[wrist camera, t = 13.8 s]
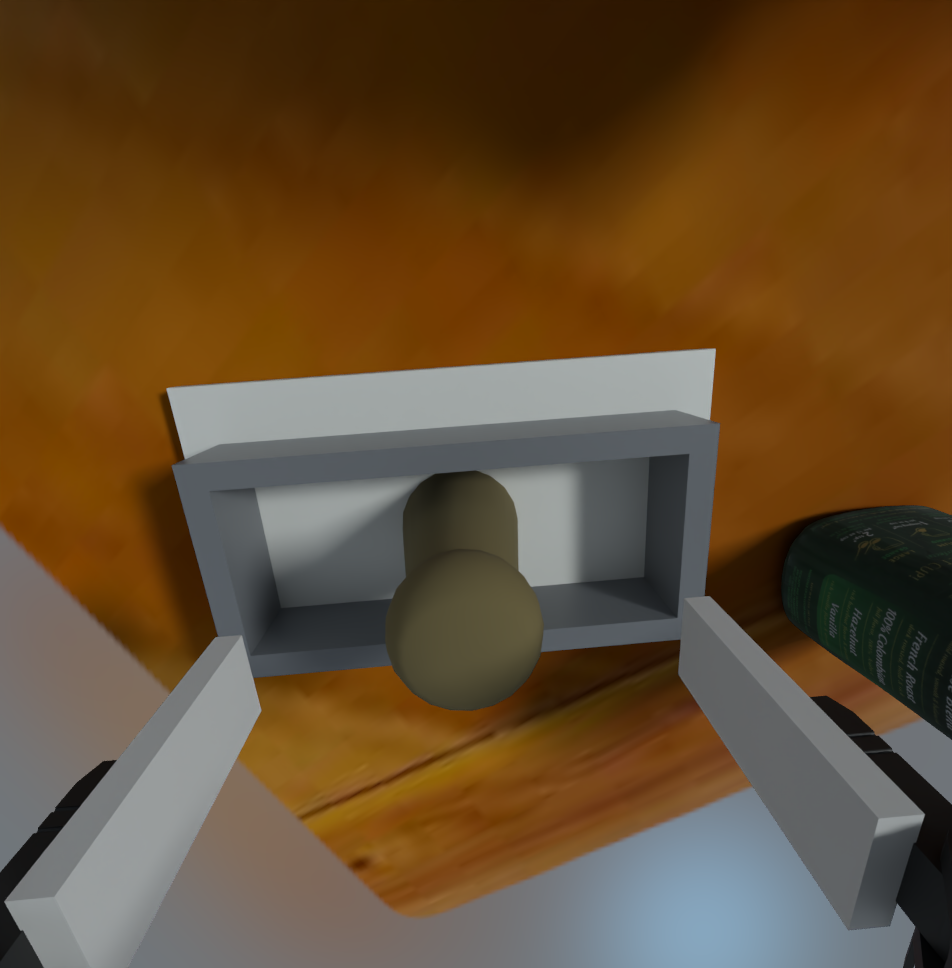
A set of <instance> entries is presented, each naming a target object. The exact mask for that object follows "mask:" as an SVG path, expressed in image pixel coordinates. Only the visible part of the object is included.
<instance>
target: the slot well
mask: <svg viewBox="0 0 952 968" xmlns="http://www.w3.org/2000/svg"><path fill="white" fill-rule="evenodd" d="M715 352H716V349H691V350H678V351H664V352H650V353H636V354H622V355H608V356H594V357H580V358H566V359H552V360H538V361H524V362H511V363H497V364H483V365H469V366H455V367H441V368H427V369H413V370H399V371H385V372H371V373H357V374H344V375H330V376H316V377H302V378H288V379H274V380H260V381H246V382H232V383H218V384H204V385H190V386H178V387H171V388H166V389H167V392H168V396H169V400H170V404H171V408H172V412H173V415H174V419H175V423H176V427H177V431H178V434H179V438H180V442H181V446H182V450H183V454H184V457H185V460H183V461H180V462H178V463H176V464H174V465H172V469H173V472H174V476H175V480H176V483H177V487H178V491H179V494H180V498H181V502H182V505H183V509H184V513H185V516H186V520H187V524H188V527H189V531H190V535H191V538H192V542H193V546H194V549H195V553H196V557H197V561H198V564H199V568H200V572H201V575H202V579H203V583H204V586H205V590H206V594H207V597H208V601H209V605H210V608H211V612H212V616H213V619H214V623H215V627H216V630H217V634H218V637H224V636H236V635H242V638H243V642H244V646H245V650H246V653H247V657H248V661H249V665H250V669H251V673H252V676H253V678H256V677H267V676H279V675H290V674H301V673H312V672H323V671H334V670H345V669H357V668H368V667H379V666H390V665H392V664H391V661H390V658H389V655H388V653H387V649H386V643H385V622H386V615H387V612H388V608H389V606H390V603H391V601H392V598H393V596H394V593H395V591H396V588H397V587H398V586H399V585H400V584H401V583H402V581H403V580H404V579H405V578H406V572H405V558H404V543H403V511H404V509H405V506H406V504H407V501H408V498H409V496H410V495H411V494H412V492H413V491H414V490H415V489H416V488H417V487H418V485H419V484H420V483H421V482H423V481H424V480H426V479H427V478H429V477H431V476H432V475H434V474H437V473H450V472H462V471H475V470H476V471H479V472H481V473H484V474H487V475H489V476H491V477H492V478H494V479H495V480H496V481H497V482H499V483H500V484H501V485H502V486H504V487H505V489H506V490H507V492H508V494H509V495H510V497H511V498H512V500H513V501H514V505H515V509H516V513H517V518H518V567H519V572H520V573H521V574H522V575H523V576H524V577H525V579H526V580H527V582H528V583H529V585H530V586H531V588H532V589H533V591H534V592H535V594H536V596H537V599H538V602H539V605H540V609H541V614H542V618H543V622H544V631H543V640H542V648H541V652H546V651H557V650H568V649H579V648H591V647H602V646H613V645H624V644H635V643H646V642H657V641H669V640H680V639H681V633H682V620H683V608H684V598H692V597H704V595H705V584H706V573H707V562H708V551H709V540H710V528H711V517H712V506H713V495H714V484H715V473H716V462H717V451H718V440H719V429H720V423H717V422H714V421H711V420H710V412H711V400H712V388H713V376H714V364H715Z"/></svg>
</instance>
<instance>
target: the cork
mask: <svg viewBox="0 0 952 968" xmlns="http://www.w3.org/2000/svg"><path fill="white" fill-rule="evenodd" d="M403 543H404V558H405V572H406V578H405V579H404V580H403V581H402V583H401V584H400V585H399V586H398V587H397V588H396V591H395V593H394V596H393V598H392V601H391V603H390V606H389V608H388V612H387V615H386V622H385V643H386V649H387V653H388V655H389V658H390V661H391V664H392V666H393V669H394V671H395V673H396V674H397V675H398V676H399V677H400V679H401V680H402V681H403V682H404V683H405V685H406V686H407V687H408V688H409V689H410V690H411V692H412V693H413V694H415V695H417V696H418V697H420V698H421V699H423V700H424V701H426V702H428V703H429V704H431V705H435V706H438V707H442V708H445V709H449V710H470V711H472V710H476V709H481V708H485V707H489V706H493V705H495V704H497V703H499V702H500V701H502V700H504V699H506V698H508V697H510V696H511V695H512V694H513V693H514V692H515V691H516V690H517V689H518V688H519V687H520V686H521V685H522V684H523V683H525V682H526V680H527V679H528V678H529V676H530V675H531V673H532V671H533V669H534V667H535V665H536V663H537V661H538V659H539V657H540V655H541V648H542V640H543V631H544V622H543V618H542V614H541V609H540V605H539V602H538V599H537V596H536V594H535V592H534V591H533V589H532V588H531V586H530V585H529V583H528V582H527V580H526V579H525V577H524V576H523V575H522V574H521V573H520V572H519V567H518V518H517V513H516V509H515V505H514V501H513V500H512V498H511V497H510V495H509V494H508V492H507V490H506V489H505V487H504V486H502V485H501V484H500V483H499V482H497V481H496V480H495V479H494V478H492V477H491V476H489V475H487V474H484V473H481V472H479V471H476V470H475V471H462V472H450V473H437V474H434V475H432V476H431V477H429V478H427V479H426V480H424V481H423V482H421V483H420V484H419V485H418V487H417V488H416V489H415V490H414V491H413V492H412V494H411V495H410V496H409V498H408V501H407V504H406V506H405V509H404V511H403Z"/></svg>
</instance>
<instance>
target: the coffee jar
mask: <svg viewBox="0 0 952 968" xmlns="http://www.w3.org/2000/svg"><path fill="white" fill-rule="evenodd" d="M781 584H782V585H781V593H782V602H783V607H784V610H785V613H786V615H787V617H788V619H789V620H790V621H791V622H792V623H793V624H794V625H795V626H796V627H797V628H799V629H800V630H801V631H802V632H804V633H805V634H806V635H807V636H809V637H810V638H811V639H813V640H814V641H815V642H817V643H818V644H819V645H821V646H822V647H823V648H825V649H826V650H827V651H829V652H830V653H831V654H833V655H834V656H835V657H837V658H838V659H840V660H841V661H843V662H844V663H846V664H847V665H849V666H850V667H852V668H853V669H854V670H856V671H857V672H859V673H860V674H862V675H863V676H865V677H866V678H867V679H869V680H870V681H872V682H873V683H875V684H876V685H878V686H879V687H880V688H882V689H883V690H885V691H886V692H887V693H889V694H890V695H892V696H893V697H894V698H896V699H897V700H898V701H900V702H901V703H903V704H904V705H905V706H907V707H908V708H909V709H911V710H912V711H914V712H915V713H916V714H918V715H919V716H920V717H922V718H923V719H924V720H926V721H927V722H928V723H930V724H931V725H932V726H934V727H935V728H937V729H938V730H939V731H941V732H942V733H943V734H945V735H946V736H947V737H949V738H950V739H952V515H949V514H946V513H943V512H941V511H938V510H935V509H932V508H929V507H925V506H914V505H913V506H912V505H911V506H904V505H902V506H885V507H876V508H869V509H861V510H856V511H851V512H846V513H842V514H838V515H833V516H830V517H826V518H823V519H820V520H818V521H815V522H813V523H811V524H810V525H808V526H807V527H805V528H804V530H803V531H802V532H801V533H800V534H799V535H798V536H797V538H796V539H795V540H794V542H793V543H792V545H791V547H790V549H789V552H788V554H787V557H786V559H785V562H784V567H783V573H782V581H781Z"/></svg>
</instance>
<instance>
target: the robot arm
mask: <svg viewBox="0 0 952 968" xmlns="http://www.w3.org/2000/svg"><path fill="white" fill-rule="evenodd" d="M678 675H679V676H680V678H681V679H682V681H683V682H684V684H685V685H686V687H687V688H688V690H689V691H690V693H691V694H692V696H693V697H694V699H695V700H696V702H697V703H698V705H699V706H700V708H701V709H702V711H703V712H704V714H705V715H706V717H707V718H708V720H709V721H710V723H711V724H712V726H713V727H714V729H715V730H716V732H717V733H718V735H719V736H720V738H721V739H722V741H723V742H724V744H725V745H726V747H727V749H728V750H729V752H730V753H731V755H732V756H733V758H734V759H735V761H736V762H737V764H738V765H739V767H740V768H741V770H742V771H743V773H744V774H745V776H746V777H747V779H748V780H749V782H750V783H751V785H752V786H753V788H754V789H755V791H756V792H757V793H758V795H759V797H760V798H761V800H762V801H763V803H764V804H765V806H766V807H767V808H768V810H769V811H770V813H771V815H772V816H773V818H774V819H775V821H776V822H777V824H778V825H779V827H780V828H781V830H782V831H783V832H784V834H785V836H786V837H787V839H788V840H789V842H790V843H791V845H792V846H793V848H794V849H795V851H796V852H797V854H798V855H799V857H800V858H801V860H802V861H803V863H804V864H805V866H806V867H807V869H808V870H809V872H810V873H811V875H812V876H813V878H814V879H815V881H816V882H817V884H818V885H819V887H820V888H821V890H822V891H823V893H824V894H825V896H826V898H827V899H828V901H829V902H830V904H831V905H832V906H833V908H834V910H835V911H836V913H837V914H838V915H839V917H840V919H841V920H842V922H843V923H844V925H845V926H846V927H847V929H848V930H857V929H867V928H876V927H885V926H886V927H887V926H890V924H891V921H892V918H893V915H894V911H895V908H896V905H897V903H898V905H899V906H900V907H901V909H902V910H903V911H904V912H905V914H906V915H907V916H908V917H909V919H910V920H911V921H912V922H913V924H914V925H915V926H916V927H915V930H914V933H913V936H912V939H911V942H910V945H909V948H908V951H907V954H906V957H905V961H904V966H903V968H913V967H914V965H915V968H952V804H951V803H950V802H948V801H947V800H946V799H945V798H944V797H943V796H942V795H941V794H940V793H939V792H938V791H937V790H936V789H934V787H932V786H931V785H930V784H929V783H928V782H927V781H926V780H925V779H924V778H923V777H922V776H921V775H920V774H918V773H917V772H916V771H915V770H914V769H913V768H912V767H911V766H910V765H909V764H908V763H907V762H906V761H905V760H904V759H903V758H902V757H901V756H899V755H898V754H897V753H894V752H893V751H892V748H891V747H890V746H889V745H888V744H887V743H886V742H885V741H883V740H882V739H881V738H880V737H879V736H876V735H875V734H874V731H873V730H872V729H871V728H870V727H869V726H868V725H866V724H865V723H864V722H863V721H862V720H861V719H860V718H859V717H858V716H857V715H856V714H855V713H854V712H852V711H851V710H849V709H847V708H846V707H844V706H843V705H841V704H839V703H838V702H836V701H834V700H833V699H831V698H829V697H828V696H818V697H809V696H808V695H807V694H806V693H805V692H804V691H803V690H802V689H801V688H800V687H799V686H798V685H797V684H796V683H795V682H794V681H793V680H792V679H791V678H790V677H789V676H788V675H787V674H786V673H785V672H784V671H783V670H782V669H781V668H780V667H779V666H778V665H777V664H776V663H775V662H774V661H773V660H772V659H771V658H770V657H769V656H768V655H767V654H766V653H765V652H764V651H763V650H762V649H761V648H760V647H759V646H758V645H757V644H756V643H755V642H754V641H753V640H752V639H751V638H750V636H749V635H748V634H747V633H746V632H745V631H744V630H743V629H742V628H741V627H740V626H739V625H738V624H737V623H736V622H735V621H734V620H733V619H732V618H731V617H730V616H729V615H728V614H727V613H726V612H725V611H724V610H723V609H722V608H721V607H720V606H719V605H718V604H717V603H716V602H715V601H714V600H713V599H712V598H711V597H710V596H704V597H692V598H684V608H683V620H682V633H681V645H680V657H679V670H678ZM260 712H261V707H260V703H259V699H258V696H257V692H256V688H255V684H254V680H253V676H252V673H251V669H250V665H249V661H248V657H247V653H246V650H245V646H244V642H243V638H242V635H236V636H224V637H215V638H214V640H213V641H212V642H211V643H210V645H209V646H208V647H207V648H206V650H205V651H204V652H203V653H202V655H201V656H200V657H199V658H198V660H197V661H196V662H195V663H194V665H193V666H192V667H191V668H190V670H189V671H188V672H187V673H186V675H185V676H184V677H183V678H182V680H181V681H180V682H179V683H178V685H177V686H176V687H175V688H174V690H173V691H172V692H171V693H170V695H169V696H168V697H167V698H166V700H165V701H164V702H163V703H162V705H161V706H160V707H159V708H158V710H157V711H156V712H155V713H154V715H153V716H152V717H151V718H150V720H149V721H148V722H147V724H146V725H145V726H144V727H143V729H142V730H141V731H140V732H139V734H138V735H137V736H136V737H135V738H134V740H133V741H132V742H131V743H130V745H129V746H128V747H127V748H126V750H125V751H124V752H123V753H122V755H121V756H120V757H119V759H118V760H112V761H103V762H102V763H100V764H99V765H98V766H97V767H96V768H94V769H93V770H92V771H91V772H89V773H88V774H87V775H86V776H84V777H83V778H82V779H81V780H79V781H78V782H77V783H76V784H75V785H74V786H73V787H72V789H71V790H70V791H69V792H68V793H67V794H66V796H65V797H64V798H63V799H62V800H61V802H60V803H59V804H58V805H57V806H56V807H55V808H56V809H55V811H54V812H52V813H50V815H49V816H48V817H47V818H46V819H45V820H44V822H43V823H42V824H41V825H40V826H39V827H38V831H37V833H34V834H33V835H32V836H31V837H30V838H29V839H28V840H27V842H26V843H25V844H24V845H23V846H22V848H21V849H20V850H19V851H18V852H17V853H16V855H15V856H14V857H13V858H12V859H11V860H10V862H9V863H8V864H7V865H6V866H5V867H4V869H3V870H2V871H1V872H0V968H128V967H129V965H130V963H131V961H132V959H133V957H134V955H135V953H136V951H137V949H138V947H139V945H140V944H141V942H142V940H143V938H144V936H145V934H146V932H147V930H148V928H149V926H150V924H151V922H152V920H153V919H154V917H155V915H156V913H157V911H158V909H159V907H160V905H161V903H162V901H163V899H164V897H165V895H166V893H167V892H168V890H169V888H170V886H171V884H172V882H173V880H174V878H175V876H176V874H177V872H178V870H179V868H180V866H181V864H182V863H183V860H184V859H185V857H186V855H187V853H188V851H189V849H190V847H191V845H192V843H193V841H194V839H195V838H196V836H197V834H198V832H199V830H200V828H201V826H202V824H203V822H204V820H205V818H206V816H207V814H208V812H209V810H210V808H211V807H212V805H213V803H214V801H215V799H216V797H217V795H218V793H219V791H220V789H221V787H222V785H223V784H224V781H225V780H226V778H227V776H228V774H229V772H230V770H231V768H232V766H233V764H234V762H235V760H236V758H237V757H238V755H239V753H240V751H241V749H242V747H243V745H244V743H245V741H246V739H247V737H248V735H249V733H250V731H251V730H252V728H253V726H254V724H255V722H256V720H257V718H258V716H259V714H260Z"/></svg>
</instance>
